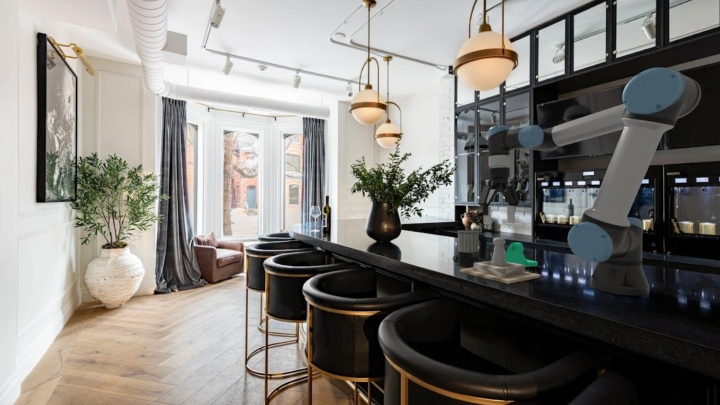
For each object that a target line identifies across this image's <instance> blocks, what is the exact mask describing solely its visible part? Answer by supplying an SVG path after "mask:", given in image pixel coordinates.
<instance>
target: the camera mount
mask: <svg viewBox="0 0 720 405" xmlns="http://www.w3.org/2000/svg"><path fill="white" fill-rule="evenodd" d="M508 246H509V247H508V248H507V249H506V251H505V256H506V262H510V263H516V264H521V265H525V268H528V267H529V268H530V267H537V266H538V265H539V264H538V261H536V260H530V259H527V258H526V255H525V254H524V249H525V248H524V244H523V243H522V242H511V243H510V245H508Z"/></svg>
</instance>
